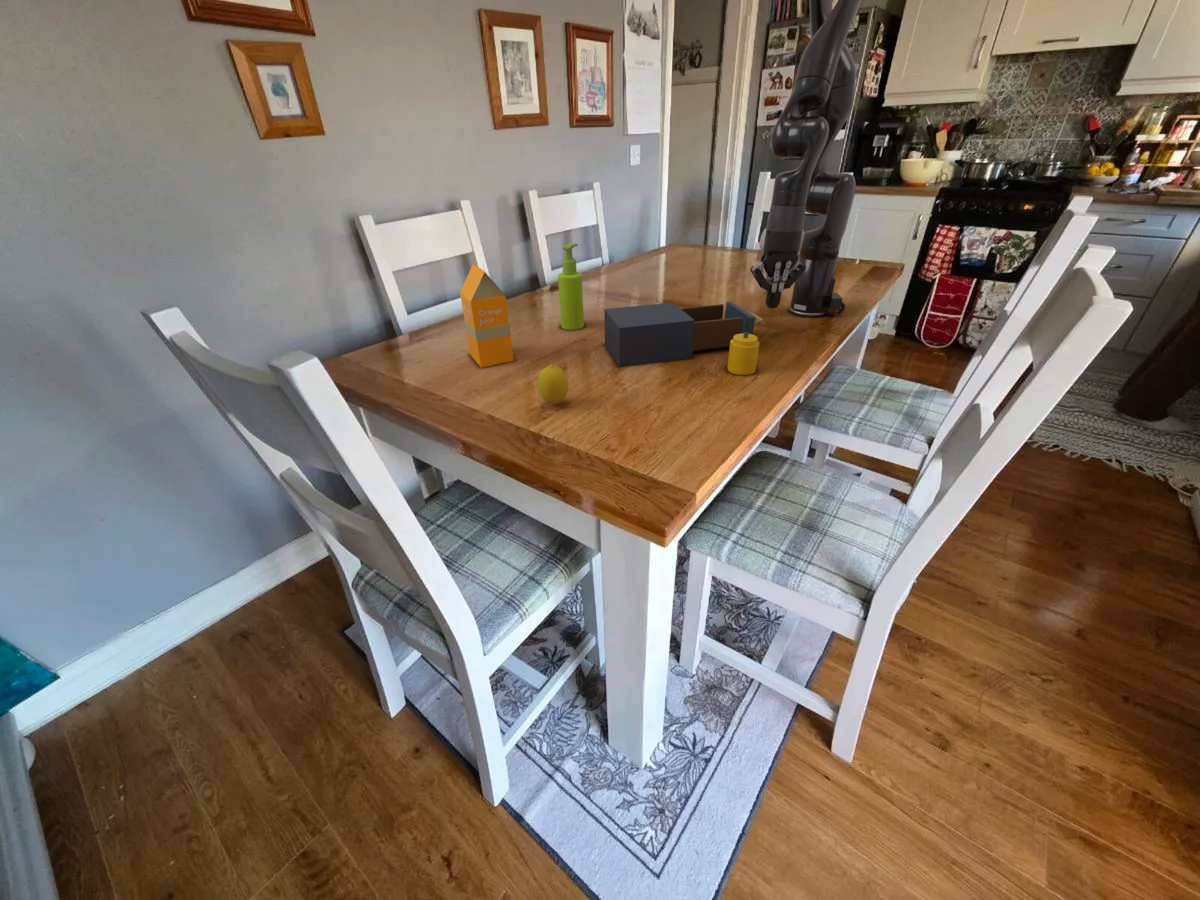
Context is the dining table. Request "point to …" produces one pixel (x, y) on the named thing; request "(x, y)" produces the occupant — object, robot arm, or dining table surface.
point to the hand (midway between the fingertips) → (771, 307)
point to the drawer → (720, 324)
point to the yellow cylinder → (743, 354)
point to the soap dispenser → (570, 292)
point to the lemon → (553, 384)
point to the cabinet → (648, 333)
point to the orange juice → (486, 319)
